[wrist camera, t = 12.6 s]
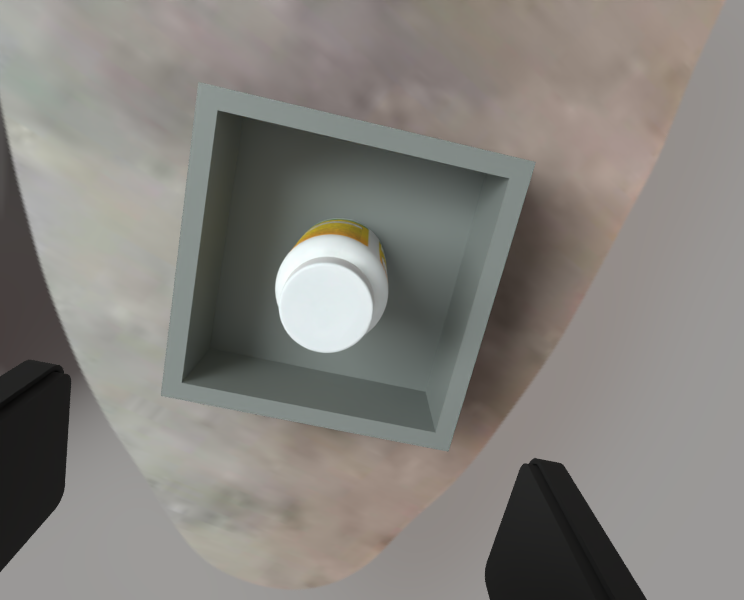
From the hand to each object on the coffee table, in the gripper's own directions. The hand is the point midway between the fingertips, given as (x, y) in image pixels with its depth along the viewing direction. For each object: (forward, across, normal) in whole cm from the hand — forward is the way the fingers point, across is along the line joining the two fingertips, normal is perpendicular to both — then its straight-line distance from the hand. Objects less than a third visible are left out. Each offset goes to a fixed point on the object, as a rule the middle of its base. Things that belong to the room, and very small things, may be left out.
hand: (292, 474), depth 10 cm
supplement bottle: (+21, 0, 0) cm, 21 cm away
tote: (+22, 0, 0) cm, 22 cm away
